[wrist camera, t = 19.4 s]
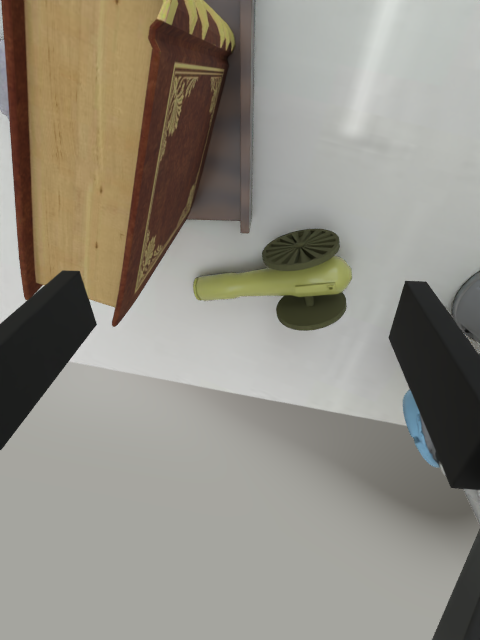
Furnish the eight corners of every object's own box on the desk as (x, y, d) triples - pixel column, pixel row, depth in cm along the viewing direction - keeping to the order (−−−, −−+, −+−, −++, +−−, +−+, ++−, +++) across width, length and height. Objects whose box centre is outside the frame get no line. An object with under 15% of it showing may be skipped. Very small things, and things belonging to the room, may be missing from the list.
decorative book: (172, -6, 38) (-17, -151, 13) (241, 23, 39) (180, -63, 14) (142, 191, 51) (17, 299, 26) (194, 209, 52) (120, 330, 27)
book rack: (251, 218, 53) (249, 233, 48) (137, 215, 54) (124, 229, 49) (255, -28, 37) (252, -43, 32) (94, -24, 38) (68, -38, 33)
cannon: (209, 310, 63) (198, 350, 54) (187, 252, 57) (170, 287, 48) (348, 285, 58) (362, 324, 49) (341, 218, 51) (355, 249, 42)
